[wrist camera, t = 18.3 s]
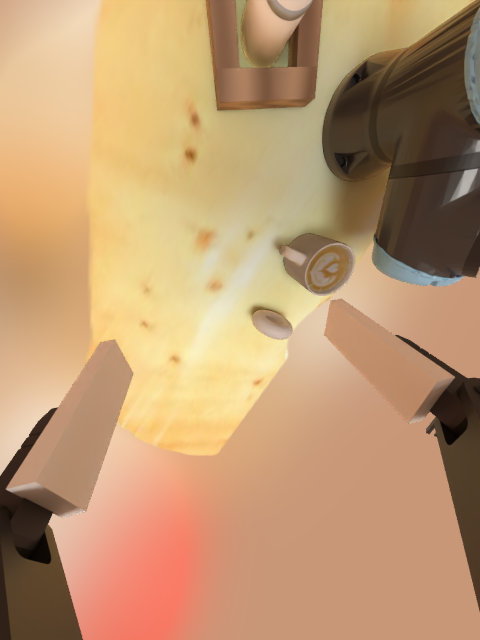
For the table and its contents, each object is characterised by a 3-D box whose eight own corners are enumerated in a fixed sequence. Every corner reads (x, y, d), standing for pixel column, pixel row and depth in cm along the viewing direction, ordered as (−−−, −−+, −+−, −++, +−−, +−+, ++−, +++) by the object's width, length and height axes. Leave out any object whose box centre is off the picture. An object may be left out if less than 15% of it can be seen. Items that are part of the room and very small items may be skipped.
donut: (284, 312, 51) (302, 334, 43) (279, 322, 53) (295, 346, 45) (250, 302, 48) (262, 325, 40) (245, 314, 49) (256, 338, 41)
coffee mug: (333, 249, 45) (365, 261, 37) (305, 285, 48) (328, 303, 40) (292, 213, 39) (319, 218, 31) (263, 257, 43) (280, 272, 34)
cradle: (316, -61, 24) (330, -92, 21) (305, 106, 31) (314, 98, 29) (199, -68, 22) (199, -103, 19) (217, 110, 29) (219, 102, 27)
